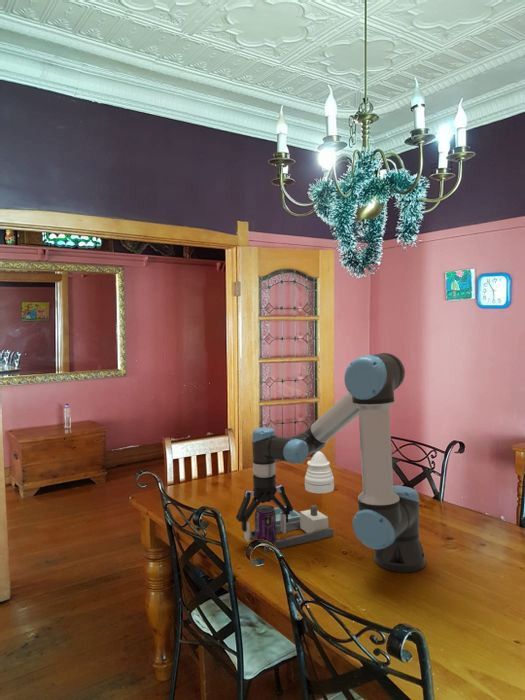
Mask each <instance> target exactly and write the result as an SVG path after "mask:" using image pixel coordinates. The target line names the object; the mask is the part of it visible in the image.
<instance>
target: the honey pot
mask: <svg viewBox="0 0 525 700" xmlns="http://www.w3.org/2000/svg"><path fill="white" fill-rule="evenodd" d="M306 464H307V469H306V472H305V475H304V490H305V491H306V492H309V493H313V494H327V493H331V492H333V491H334V490H335V478H334V475H333V472H332V468H331V466H330V465H331V462H330V461H329V460H328V459H327V456H325V454H324V453H323V452H322V451H321V450H319V451H317V452H314V454H313V455H312V457H311V459H310V460H307V462H306Z"/></svg>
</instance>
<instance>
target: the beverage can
mask: <svg viewBox="0 0 525 700" xmlns="http://www.w3.org/2000/svg"><path fill="white" fill-rule="evenodd" d="M274 508H275V507H274V506H273V505H270V504H261V505H258V506H257V507H256V509H255V511H254V530H255V538H254V540H255V539H264V540H267V541H269V542H271V541H276V540H277V534H276V513H275V511H274Z"/></svg>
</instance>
